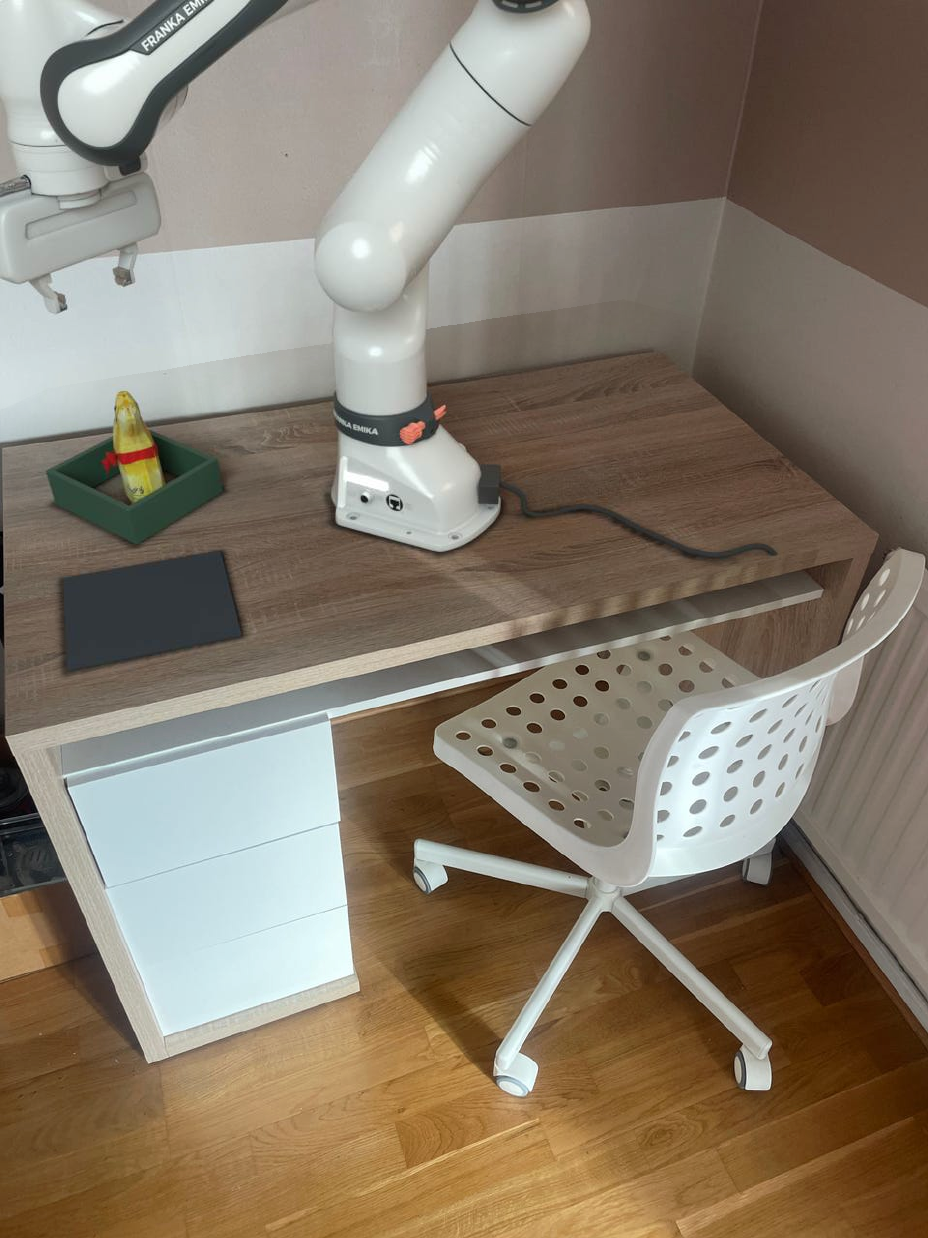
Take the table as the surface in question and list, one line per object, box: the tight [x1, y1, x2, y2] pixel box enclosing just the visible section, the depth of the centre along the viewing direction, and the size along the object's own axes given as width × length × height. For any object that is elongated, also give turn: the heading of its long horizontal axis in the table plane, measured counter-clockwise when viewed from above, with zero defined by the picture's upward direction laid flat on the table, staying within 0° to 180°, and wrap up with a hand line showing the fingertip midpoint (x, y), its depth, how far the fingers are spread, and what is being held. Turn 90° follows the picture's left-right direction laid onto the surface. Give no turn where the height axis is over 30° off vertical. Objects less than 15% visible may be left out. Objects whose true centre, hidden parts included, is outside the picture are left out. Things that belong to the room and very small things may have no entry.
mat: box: [62, 549, 243, 672], centre depth 109 cm, size 18×16×1 cm
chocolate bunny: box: [103, 390, 167, 504], centre depth 121 cm, size 7×11×15 cm, turn 25°
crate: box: [45, 428, 224, 545], centre depth 124 cm, size 15×15×5 cm
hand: (92, 297), depth 109 cm, fingers open, 8 cm apart
